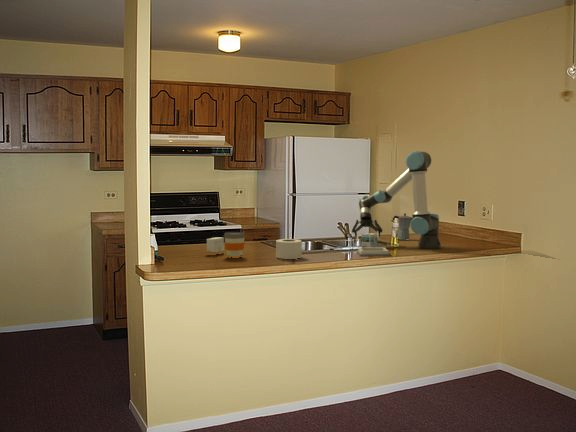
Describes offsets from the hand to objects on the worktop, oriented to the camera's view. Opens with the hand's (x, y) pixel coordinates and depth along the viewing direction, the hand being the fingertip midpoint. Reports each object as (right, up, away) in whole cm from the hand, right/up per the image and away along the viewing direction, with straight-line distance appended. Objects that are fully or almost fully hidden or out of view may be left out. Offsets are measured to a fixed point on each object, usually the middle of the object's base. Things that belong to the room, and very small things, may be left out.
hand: (368, 240), depth 414 cm
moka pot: (+33, -2, +55) cm, 64 cm away
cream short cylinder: (-52, -10, -35) cm, 64 cm away
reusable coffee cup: (-85, -10, -33) cm, 92 cm away
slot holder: (+1, -8, -19) cm, 21 cm away
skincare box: (-99, -9, -19) cm, 101 cm away
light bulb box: (+1, -7, 0) cm, 7 cm away
